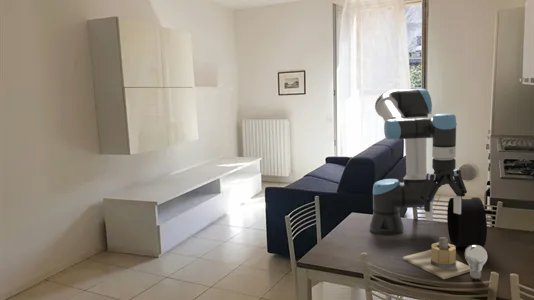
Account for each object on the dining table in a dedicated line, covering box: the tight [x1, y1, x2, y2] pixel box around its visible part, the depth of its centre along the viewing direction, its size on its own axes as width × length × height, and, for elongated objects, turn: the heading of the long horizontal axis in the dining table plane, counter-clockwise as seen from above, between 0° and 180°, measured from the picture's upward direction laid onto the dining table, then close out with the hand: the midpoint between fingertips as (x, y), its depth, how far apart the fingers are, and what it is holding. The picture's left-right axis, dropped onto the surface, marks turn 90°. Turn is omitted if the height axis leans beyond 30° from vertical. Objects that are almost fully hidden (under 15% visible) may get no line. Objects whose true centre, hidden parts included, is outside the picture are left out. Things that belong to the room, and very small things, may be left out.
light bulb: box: [464, 245, 488, 280], centre depth 142 cm, size 7×7×12 cm
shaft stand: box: [402, 236, 470, 280], centre depth 155 cm, size 20×14×11 cm
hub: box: [431, 241, 457, 264], centre depth 152 cm, size 8×8×5 cm
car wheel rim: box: [446, 197, 488, 248], centre depth 170 cm, size 20×10×20 cm, turn 168°
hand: (443, 216), depth 151 cm, fingers open, 13 cm apart
